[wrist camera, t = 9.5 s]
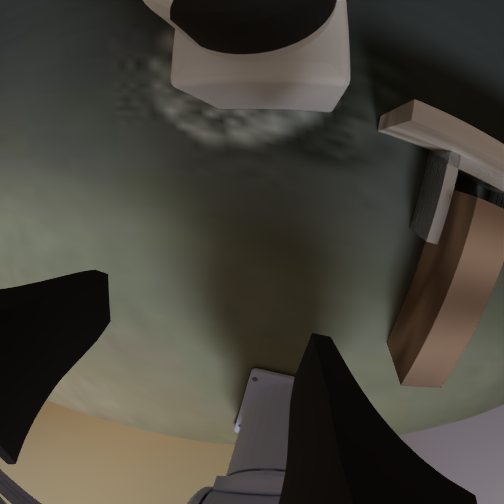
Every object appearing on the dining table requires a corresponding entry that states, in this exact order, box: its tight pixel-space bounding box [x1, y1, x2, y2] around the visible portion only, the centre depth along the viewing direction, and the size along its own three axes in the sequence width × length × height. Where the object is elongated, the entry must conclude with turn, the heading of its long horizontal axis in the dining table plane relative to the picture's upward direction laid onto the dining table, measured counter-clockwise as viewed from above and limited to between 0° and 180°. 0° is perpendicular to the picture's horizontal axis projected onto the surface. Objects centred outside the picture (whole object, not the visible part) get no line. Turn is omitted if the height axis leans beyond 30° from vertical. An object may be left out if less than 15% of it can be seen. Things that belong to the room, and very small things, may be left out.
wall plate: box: [378, 99, 504, 178], centre depth 12 cm, size 1×14×6 cm, turn 78°
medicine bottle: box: [143, 0, 350, 112], centre depth 9 cm, size 7×7×12 cm
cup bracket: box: [410, 150, 504, 245], centre depth 14 cm, size 5×7×3 cm
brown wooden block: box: [387, 190, 504, 388], centre depth 15 cm, size 12×3×5 cm, turn 171°
